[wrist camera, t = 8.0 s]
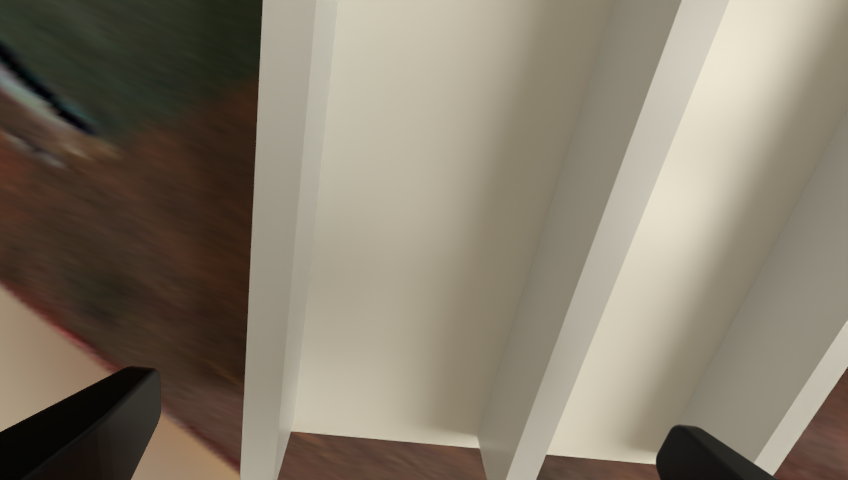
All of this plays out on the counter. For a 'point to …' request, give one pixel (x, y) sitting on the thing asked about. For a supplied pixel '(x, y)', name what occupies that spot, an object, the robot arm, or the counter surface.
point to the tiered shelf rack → (547, 226)
